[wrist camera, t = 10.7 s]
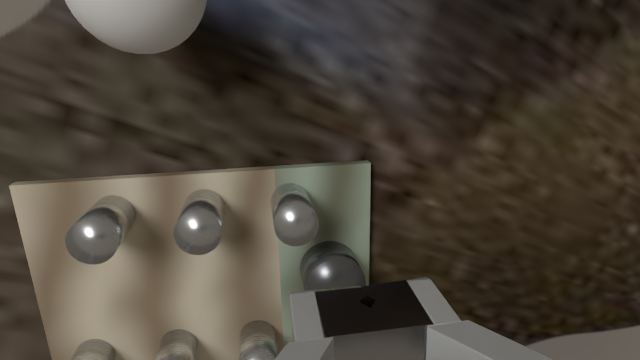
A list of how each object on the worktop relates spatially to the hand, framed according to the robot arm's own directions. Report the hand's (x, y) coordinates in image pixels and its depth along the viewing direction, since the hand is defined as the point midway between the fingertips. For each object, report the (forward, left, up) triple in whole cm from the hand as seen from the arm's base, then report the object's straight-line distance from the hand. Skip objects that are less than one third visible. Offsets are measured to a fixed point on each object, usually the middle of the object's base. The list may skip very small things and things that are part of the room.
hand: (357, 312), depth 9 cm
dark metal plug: (-3, +11, -21) cm, 24 cm away
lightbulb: (+7, -8, -22) cm, 25 cm away
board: (+6, +11, -22) cm, 25 cm away
